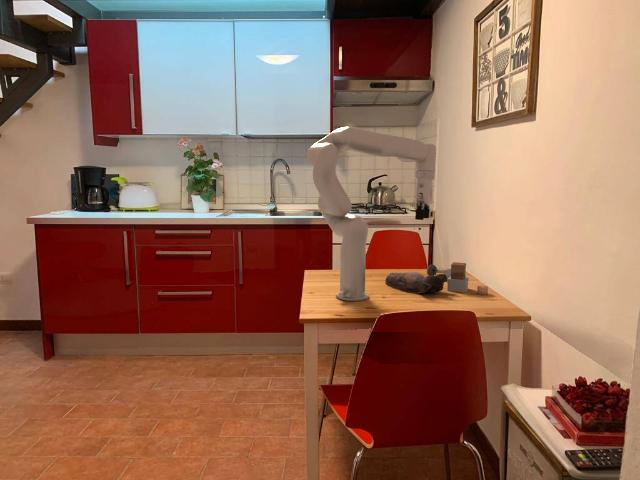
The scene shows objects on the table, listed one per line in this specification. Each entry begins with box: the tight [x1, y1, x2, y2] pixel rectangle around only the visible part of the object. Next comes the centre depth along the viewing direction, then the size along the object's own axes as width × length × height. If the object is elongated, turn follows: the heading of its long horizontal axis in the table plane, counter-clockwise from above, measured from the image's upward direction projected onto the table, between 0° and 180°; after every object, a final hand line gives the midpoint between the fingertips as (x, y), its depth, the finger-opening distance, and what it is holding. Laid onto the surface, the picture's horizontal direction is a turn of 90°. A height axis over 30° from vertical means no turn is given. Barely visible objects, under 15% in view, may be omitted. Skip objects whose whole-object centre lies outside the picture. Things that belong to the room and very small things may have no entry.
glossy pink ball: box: [476, 284, 489, 296], centre depth 187 cm, size 4×4×3 cm
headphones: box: [417, 264, 467, 282], centre depth 216 cm, size 17×6×20 cm
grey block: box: [446, 276, 469, 293], centre depth 194 cm, size 7×7×5 cm
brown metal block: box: [450, 261, 467, 280], centre depth 193 cm, size 5×5×6 cm
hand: (422, 218), depth 190 cm, fingers open, 9 cm apart
